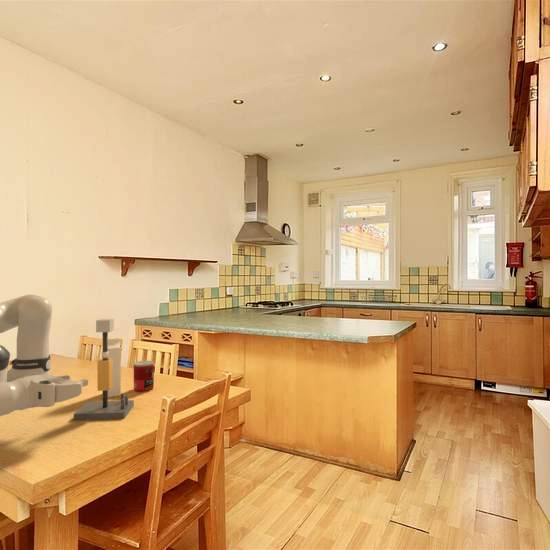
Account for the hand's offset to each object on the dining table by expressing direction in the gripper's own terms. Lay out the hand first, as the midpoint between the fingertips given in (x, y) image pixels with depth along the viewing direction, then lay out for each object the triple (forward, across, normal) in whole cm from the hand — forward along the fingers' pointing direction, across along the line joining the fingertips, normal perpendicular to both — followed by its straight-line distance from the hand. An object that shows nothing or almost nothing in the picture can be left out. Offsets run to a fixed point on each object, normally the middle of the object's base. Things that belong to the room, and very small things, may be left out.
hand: (77, 379), depth 124 cm
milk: (+24, -15, -14) cm, 32 cm away
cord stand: (+10, 0, -14) cm, 17 cm away
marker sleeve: (+10, 0, -6) cm, 12 cm away
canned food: (+36, -10, -14) cm, 39 cm away
